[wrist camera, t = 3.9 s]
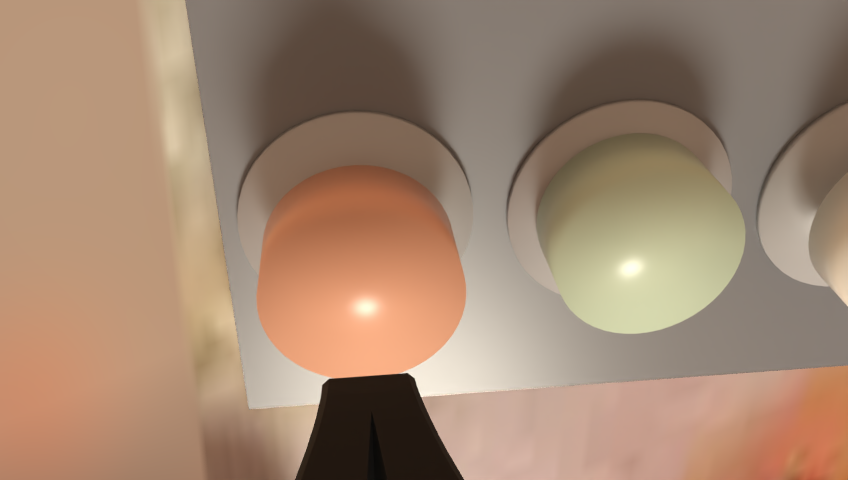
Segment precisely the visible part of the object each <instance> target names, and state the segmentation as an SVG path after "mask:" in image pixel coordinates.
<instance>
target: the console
mask: <svg viewBox="0 0 848 480" xmlns="http://www.w3.org/2000/svg"><path fill="white" fill-rule="evenodd" d="M185 1H186V8H187V14H188V20H189V27H190V33H191V40H192V46H193V53H194V59H195V66H196V72H197V79H198V85H199V91H200V98H201V104H202V111H203V117H204V124H205V130H206V137H207V143H208V149H209V156H210V162H211V169H212V175H213V182H214V188H215V195H216V201H217V207H218V214H219V220H220V227H221V233H222V240H223V246H224V253H225V259H226V266H227V272H228V278H229V285H230V291H231V298H232V304H233V311H234V317H235V324H236V330H237V336H238V343H239V349H240V356H241V362H242V369H243V375H244V382H245V388H246V395H247V401H248V407H249V409H262V408H275V407H289V406H303V405H316V404H319V403H320V398H321V391H322V385H323V384H324V383H325V382H326V381H327V380H328V379H332V378H331V377H327V376H323V375H320V374H316V373H314V372H312V371H309V370H307V369H304V368H303V367H301V366H299V365H297V364H295V363H294V362H292V361H291V360H290V359H288V358H287V357H286V356H284V355H283V354H282V353H281V352H280V351H279V350H278V349H277V348H276V347H275V346H274V344H273V343H272V342H271V341H270V339H269V338H268V336H267V334H266V333H265V331H264V329H263V327H262V324H261V322H260V319H259V315H258V311H257V300H256V295H257V286H258V278H259V269H260V260H261V252H262V243H263V234H264V231H265V227H266V224H267V221H268V219H269V217H270V215H271V213H272V211H273V210H274V208H275V207H276V205H277V204H278V202H279V201H280V200H281V199H282V198H283V197H284V195H285V194H287V193H288V192H289V191H290V190H291V189H292V188H293V187H295V186H296V185H297V184H299V183H300V182H302V181H303V180H305V179H307V178H309V177H311V176H313V175H315V174H317V173H320V172H323V171H326V170H328V169H333V168H337V167H341V166H351V165H371V166H378V167H384V168H388V169H392V170H395V171H398V172H400V173H403V174H405V175H407V176H409V177H411V178H413V179H415V180H416V181H418V182H419V183H421V184H422V185H423V186H425V187H426V188H427V189H428V190H429V191H430V192H431V193H432V194H433V195H434V196H435V197H436V198H437V199H438V201H439V202H440V203H441V205H442V206H443V208H444V210H445V212H446V213H447V215H448V218H449V221H450V223H451V227H452V231H453V234H454V238H455V242H456V246H457V250H458V253H459V257H460V261H461V265H462V269H463V272H464V277H465V282H466V302H465V308H464V311H463V315H462V318H461V320H460V322H459V325H458V327H457V328H456V330H455V331H454V333H453V335H452V336H451V337H450V339H449V340H448V341H447V342H446V344H445V345H444V346H443V347H442V348H441V349H440V350H438V351H437V352H436V353H435V354H434V355H433V356H431V357H430V358H429V359H427V360H426V361H424V362H422V363H421V364H419V365H417V366H416V367H413V368H411V369H409V370H407V371H404V372H402V373H408V374H410V375H411V376H412V377H414V378H415V381H416V384H417V387H418V390H419V393H420V396H421V397H425V396H438V395H452V394H466V393H479V392H493V391H506V390H520V389H534V388H547V387H561V386H574V385H588V384H601V383H615V382H629V381H642V380H656V379H669V378H683V377H697V376H710V375H724V374H737V373H751V372H764V371H778V370H792V369H805V368H819V367H832V366H846V365H848V306H847V305H846V304H845V303H844V302H843V301H842V300H841V298H840V297H839V296H838V295H837V294H836V293H835V292H834V291H833V290H832V289H831V288H830V286H829V285H828V284H827V283H826V282H825V281H824V280H823V279H822V278H821V277H820V276H819V274H818V273H817V271H816V270H815V268H814V266H813V264H812V262H811V259H810V255H809V246H808V243H809V233H810V229H811V225H812V222H813V219H814V217H815V214H816V212H817V210H818V208H819V206H820V204H821V203H822V201H823V200H824V198H825V197H826V195H827V194H828V193H829V191H830V190H831V189H832V188H833V187H834V185H835V184H836V183H837V182H838V181H839V180H840V179H841V178H842V177H843V176H844V175H845V174H846V173H848V0H185ZM633 133H648V134H655V135H661V136H664V137H667V138H670V139H673V140H675V141H677V142H679V143H681V144H682V145H684V146H685V147H687V148H688V149H689V150H690V151H691V152H692V153H693V154H695V155H696V157H697V158H698V159H699V160H700V161H701V162H702V163H703V165H704V166H705V167H706V168H707V169H708V170H709V171H710V172H711V174H712V175H713V176H714V177H715V178H716V179H717V180H718V181H719V183H720V184H721V185H722V186H723V187H724V188H725V189H726V190H727V192H728V193H729V194H730V195H731V196H732V198H733V199H734V200H735V202H736V203H737V205H738V207H739V209H740V211H741V213H742V216H743V219H744V224H745V246H744V251H743V255H742V258H741V261H740V264H739V266H738V268H737V270H736V272H735V274H734V276H733V277H732V279H731V280H730V282H729V283H728V285H727V286H726V287H725V288H724V290H723V291H722V292H721V293H720V294H719V295H718V296H717V297H716V298H715V299H714V300H713V301H712V302H711V303H710V304H708V305H707V306H706V307H705V308H704V309H702V310H701V311H699V312H698V313H696V314H695V315H693V316H691V317H690V318H688V319H686V320H684V321H682V322H680V323H677V324H675V325H673V326H670V327H667V328H664V329H661V330H657V331H652V332H647V333H639V334H622V333H613V332H609V331H604V330H601V329H598V328H596V327H593V326H591V325H589V324H587V323H585V322H584V321H583V320H581V319H580V318H578V317H577V316H576V315H575V314H574V313H573V312H572V311H571V310H570V309H569V307H568V306H567V305H566V303H565V302H564V300H563V298H562V296H561V294H560V292H559V289H558V287H557V285H556V282H555V280H554V278H553V275H552V273H551V271H550V268H549V266H548V264H547V261H546V259H545V257H544V254H543V252H542V249H541V247H540V244H539V241H538V236H537V214H538V208H539V205H540V202H541V199H542V196H543V194H544V192H545V190H546V188H547V186H548V185H549V183H550V182H551V180H552V179H553V177H554V176H555V175H556V174H557V172H558V171H559V170H560V169H561V168H562V167H563V166H564V165H565V164H566V163H567V162H568V161H569V160H570V159H572V158H573V157H574V156H575V155H577V154H578V153H580V152H581V151H583V150H584V149H586V148H588V147H589V146H591V145H594V144H596V143H598V142H600V141H602V140H605V139H608V138H611V137H615V136H619V135H624V134H633ZM399 374H401V373H399Z"/></svg>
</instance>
